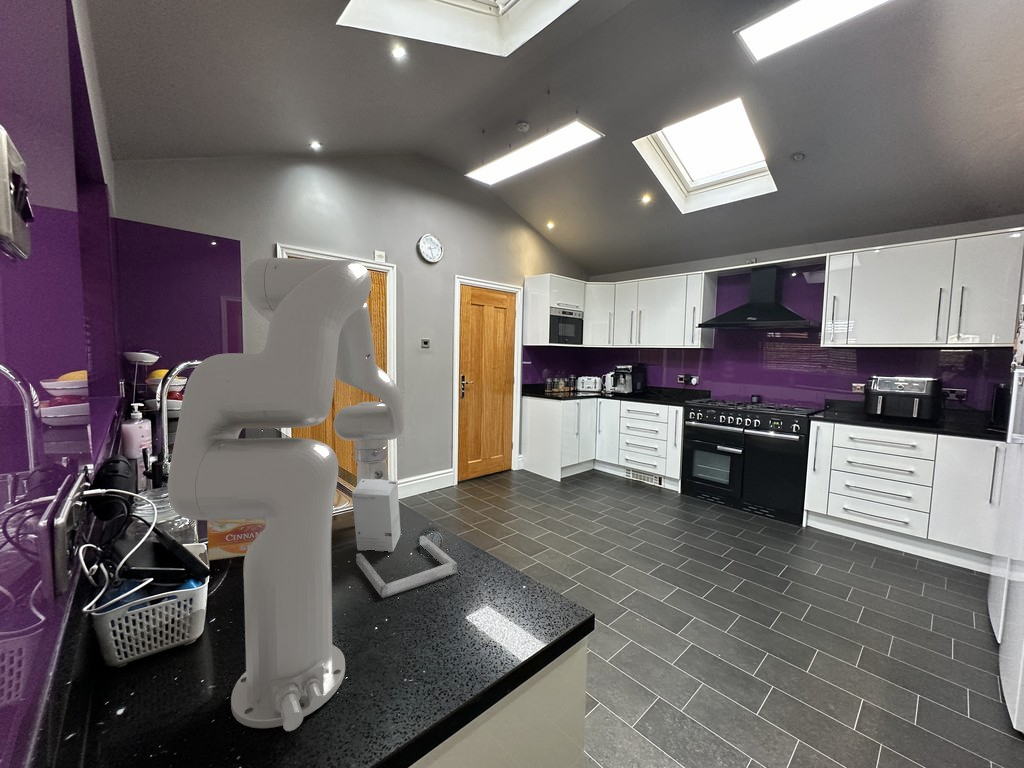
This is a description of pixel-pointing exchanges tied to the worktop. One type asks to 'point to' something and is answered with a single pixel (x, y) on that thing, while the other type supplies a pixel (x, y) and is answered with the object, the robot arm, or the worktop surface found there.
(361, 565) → the bracket
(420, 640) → the worktop surface
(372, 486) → the skincare box
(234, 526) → the coffeecake box
